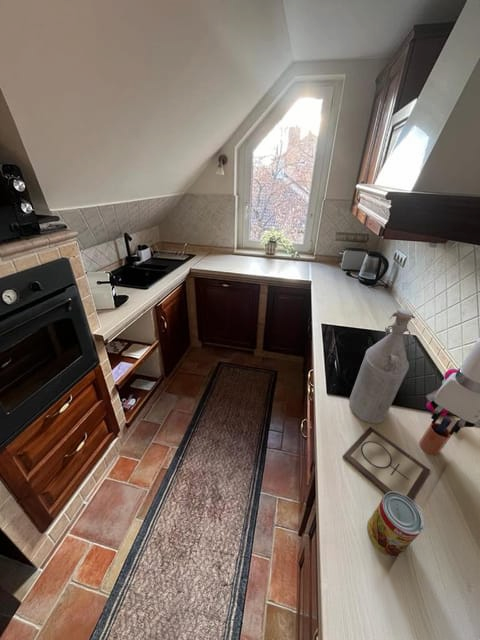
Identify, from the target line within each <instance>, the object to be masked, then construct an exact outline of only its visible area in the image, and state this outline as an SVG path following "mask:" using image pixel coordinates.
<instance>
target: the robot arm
mask: <svg viewBox="0 0 480 640" xmlns="http://www.w3.org/2000/svg"><path fill="white" fill-rule="evenodd" d="M458 368H459V370H458V371H457V373H452V374H451V375H450V376H449V377H448V378H447V379H446V381H445V382H444V383H443V384H442V385H441V386H440V387H439V388H438V389H439V390H438V389H437V390H438V391H436V390H434V391H435V392H434V391H431V392H428V393H427V394H425V398H426V399H427V400H428V401H430V402H431V405H432V406H433V408H434V413H432V415H431V417H430V419H432V421H431V423H432V424H435V423H437V421H438V420H439V418H440V417H441V416H440V415H441V413H442V412H443V411H442V410H443V409H446V410H448V412H450V413H451V414H453V415H454V416H457V417H459V419H457V420H456V422H455V423H454V425H453V426H452V427H451V429H449V431H450V432H449V434H450V435H452V436H453V434H454V433H455V434H458V433H459V432H460V430H461V429H464V428H476V429H480V337H479V338H477V340H476V342H475V343H474V344H473V346H472V348H471V349H470V350H469V352H468V354H467V356H466V357H465V359H464V360H463V361H462V363H461V365H460V367H458Z"/></svg>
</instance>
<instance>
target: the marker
mask: <svg viewBox="0 0 480 640" xmlns="http://www.w3.org/2000/svg"><path fill="white" fill-rule="evenodd" d="M439 423H440V425H439V426H438V428H437V429H436V431H435V433H437V434H438V435H440V436H442V435H443V433H444V432H445V430H446V429H447V428H448V429H449V426H450V425H451V424H452V419H451V418H450V417H448V416H443V419H442V420H441V422H439Z"/></svg>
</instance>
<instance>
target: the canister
mask: <svg viewBox="0 0 480 640" xmlns="http://www.w3.org/2000/svg"><path fill="white" fill-rule="evenodd" d="M394 317H395V321H394V322H393V323H392V324H391V325H388V326H385V328H384V331H385V336H384V337H383V338H382V339H380V340H378V341H377V342H376V343H375V344H373V345H372V346H370V347H368V348H367V349H366V351H365V354H364V357H363V360H362V363H361V365H360V368H359V371H358V373H357V377H356V380H355V382H354V385H353V387H352V391H351V394H350V396H349V400H348V402H349V407H350V410H351V411H352V412H353V414H354V415H355V416H356V417H357V418H358V419H359V420H362V421H364V422H366V423H369V424H380V423H383V422H384V421H385V420H386V417H387V414H388V412H389V410H390V408H391V406H392V404H393V402H394V400H395V398H396V397H397V393H398V392H399V390H400V387H401V385H402V383H403V381H404V379H405V377H406V375H407V373H408V371H409V368H410V364H409V361H408V357H407V351H406V348H405V347H406V346H405V342H404V341H405V340H404V337H403V335H404V333H405V332H408V335H407V336H406V341H409V340H410V339H411V338H413V335H414V334H411V331H410V330H409V329H408V324H409V322H410V321H411V320H412V319H414V320H416V317H415V315H414V313H413V312H412V311H410V310H409V309H405V308H403V307H402V308H401V307H399V308H397V311H396V312H394V313H392V315H391V316H390V318H389V320H391V319H392V318H394ZM414 325H416V323H415V322H414Z"/></svg>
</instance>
